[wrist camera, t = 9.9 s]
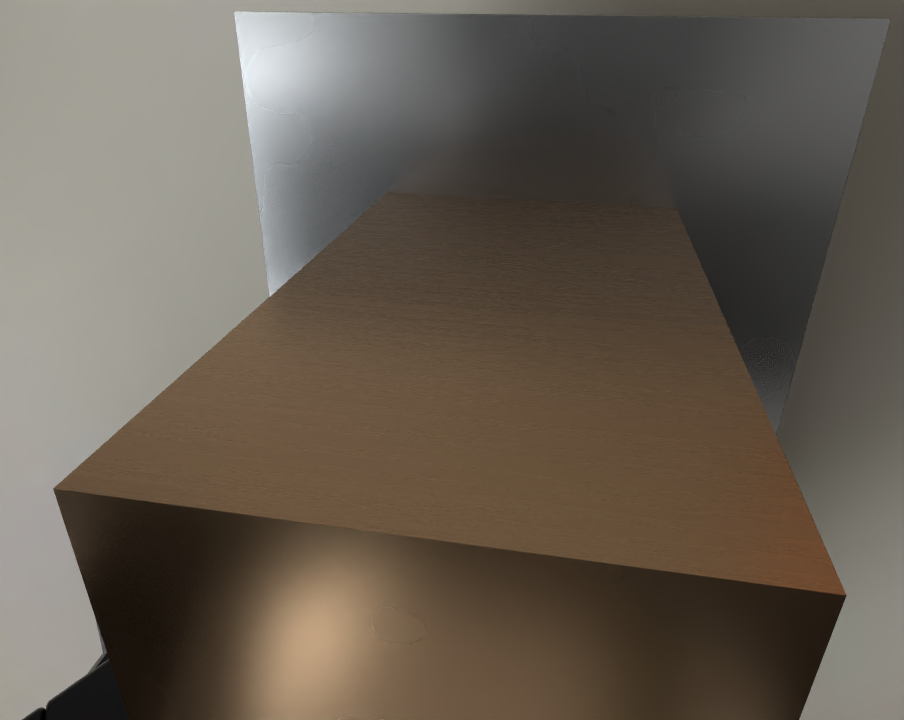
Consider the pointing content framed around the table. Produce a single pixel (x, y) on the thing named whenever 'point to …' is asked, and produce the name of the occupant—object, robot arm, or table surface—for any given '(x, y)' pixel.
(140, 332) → the table surface
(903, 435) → the table surface
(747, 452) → the block on grey plate
